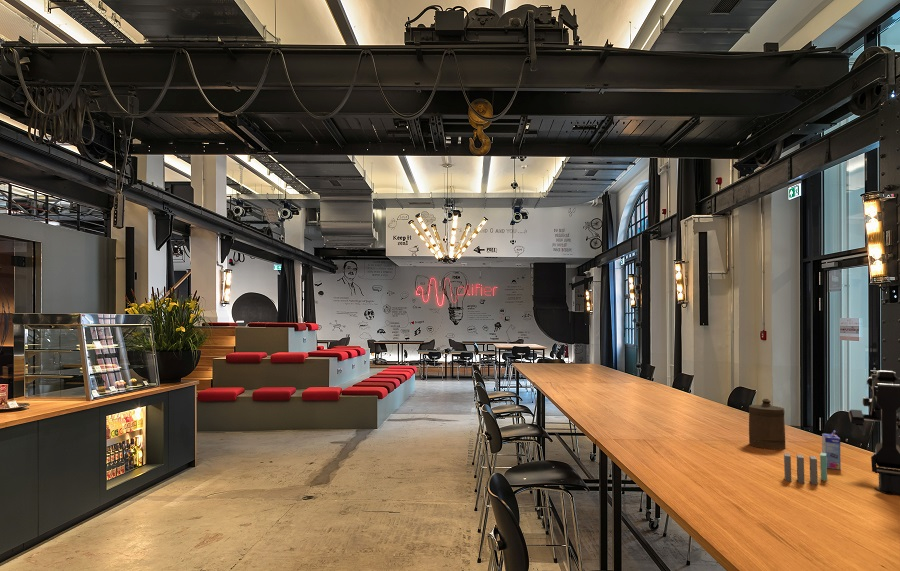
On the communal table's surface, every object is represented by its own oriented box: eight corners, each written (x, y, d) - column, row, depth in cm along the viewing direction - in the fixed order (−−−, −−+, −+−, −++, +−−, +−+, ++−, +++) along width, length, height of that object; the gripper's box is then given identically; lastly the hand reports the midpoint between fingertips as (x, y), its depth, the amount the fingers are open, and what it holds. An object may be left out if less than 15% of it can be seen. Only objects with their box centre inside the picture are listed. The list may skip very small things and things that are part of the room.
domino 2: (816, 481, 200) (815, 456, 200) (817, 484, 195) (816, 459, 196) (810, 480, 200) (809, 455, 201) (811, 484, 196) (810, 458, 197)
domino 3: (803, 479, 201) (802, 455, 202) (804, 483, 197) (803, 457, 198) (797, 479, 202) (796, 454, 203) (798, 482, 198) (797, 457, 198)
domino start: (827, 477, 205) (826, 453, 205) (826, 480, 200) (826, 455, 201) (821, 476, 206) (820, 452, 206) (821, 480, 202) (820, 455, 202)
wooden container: (785, 445, 259) (784, 398, 261) (785, 451, 247) (784, 402, 248) (750, 441, 267) (749, 395, 269) (748, 447, 255) (747, 399, 256)
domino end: (790, 478, 203) (789, 453, 204) (791, 481, 199) (790, 456, 200) (784, 477, 204) (783, 453, 205) (785, 480, 200) (784, 455, 200)
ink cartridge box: (842, 470, 216) (840, 432, 217) (825, 468, 218) (823, 431, 219) (838, 464, 224) (836, 428, 225) (821, 462, 227) (820, 427, 228)
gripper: (906, 392, 209) (902, 424, 216) (847, 389, 218) (845, 420, 224) (914, 410, 201) (910, 443, 207) (852, 406, 209) (850, 438, 215)
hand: (878, 435), depth 213 cm, fingers open, 9 cm apart
